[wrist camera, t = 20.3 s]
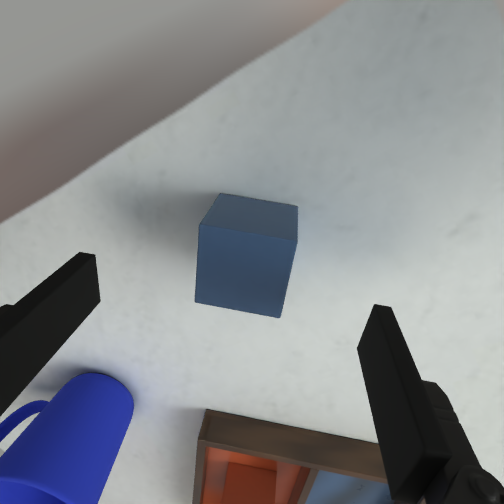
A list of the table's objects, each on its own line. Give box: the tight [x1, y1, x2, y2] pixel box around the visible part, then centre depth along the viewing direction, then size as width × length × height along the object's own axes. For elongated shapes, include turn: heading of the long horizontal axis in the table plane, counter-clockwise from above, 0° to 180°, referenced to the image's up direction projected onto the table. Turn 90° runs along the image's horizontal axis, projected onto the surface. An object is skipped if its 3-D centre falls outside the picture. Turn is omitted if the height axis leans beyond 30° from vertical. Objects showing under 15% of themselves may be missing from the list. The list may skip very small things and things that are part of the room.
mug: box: [0, 373, 134, 504], centre depth 28 cm, size 8×12×10 cm
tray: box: [192, 409, 426, 504], centre depth 34 cm, size 21×18×3 cm
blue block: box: [195, 193, 298, 318], centre depth 20 cm, size 5×5×5 cm
